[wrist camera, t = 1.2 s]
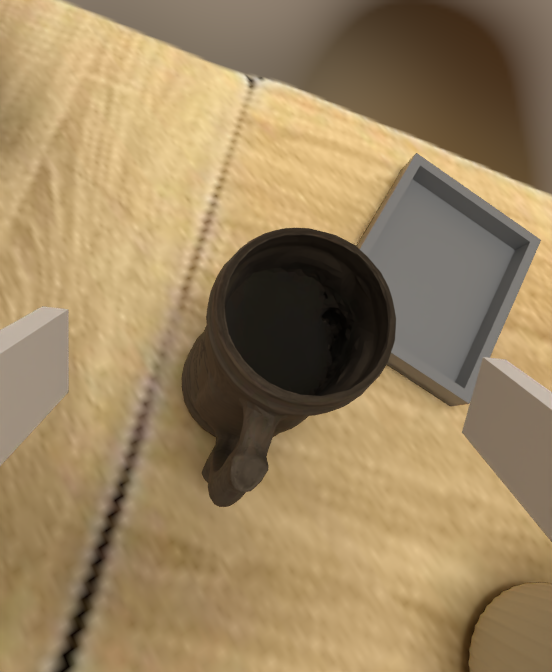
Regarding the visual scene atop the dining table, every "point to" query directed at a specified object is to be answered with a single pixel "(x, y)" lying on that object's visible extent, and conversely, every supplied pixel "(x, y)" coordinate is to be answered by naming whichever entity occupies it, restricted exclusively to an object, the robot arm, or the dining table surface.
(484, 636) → the canister
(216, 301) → the beer stein
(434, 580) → the dining table surface
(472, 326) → the tray
